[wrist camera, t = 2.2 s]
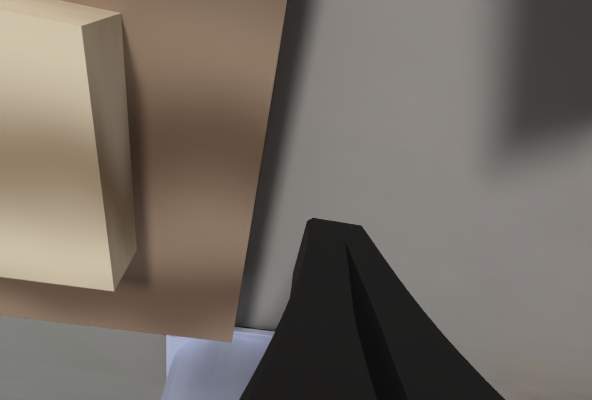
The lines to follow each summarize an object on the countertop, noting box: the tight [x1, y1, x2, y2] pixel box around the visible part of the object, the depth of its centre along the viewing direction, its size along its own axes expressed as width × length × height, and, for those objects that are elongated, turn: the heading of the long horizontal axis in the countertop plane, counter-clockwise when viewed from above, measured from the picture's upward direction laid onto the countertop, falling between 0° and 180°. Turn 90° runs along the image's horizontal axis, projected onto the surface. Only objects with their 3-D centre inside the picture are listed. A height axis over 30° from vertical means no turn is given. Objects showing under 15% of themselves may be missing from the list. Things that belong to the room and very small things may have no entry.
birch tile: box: [0, 0, 137, 291], centre depth 10 cm, size 8×6×2 cm
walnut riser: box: [0, 0, 288, 343], centre depth 13 cm, size 18×12×4 cm, turn 169°
